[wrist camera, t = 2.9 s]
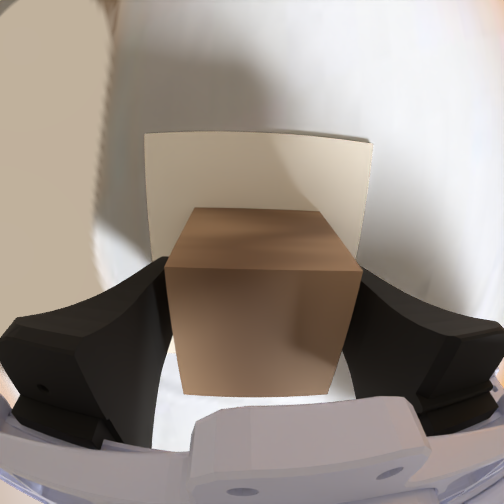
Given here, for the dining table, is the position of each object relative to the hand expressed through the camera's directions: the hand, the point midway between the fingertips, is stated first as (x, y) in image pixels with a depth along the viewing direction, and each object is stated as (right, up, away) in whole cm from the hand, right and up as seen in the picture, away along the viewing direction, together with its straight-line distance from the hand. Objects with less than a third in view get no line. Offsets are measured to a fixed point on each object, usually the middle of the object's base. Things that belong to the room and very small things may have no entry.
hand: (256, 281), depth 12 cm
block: (0, +1, +1) cm, 1 cm away
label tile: (0, +1, +1) cm, 2 cm away
